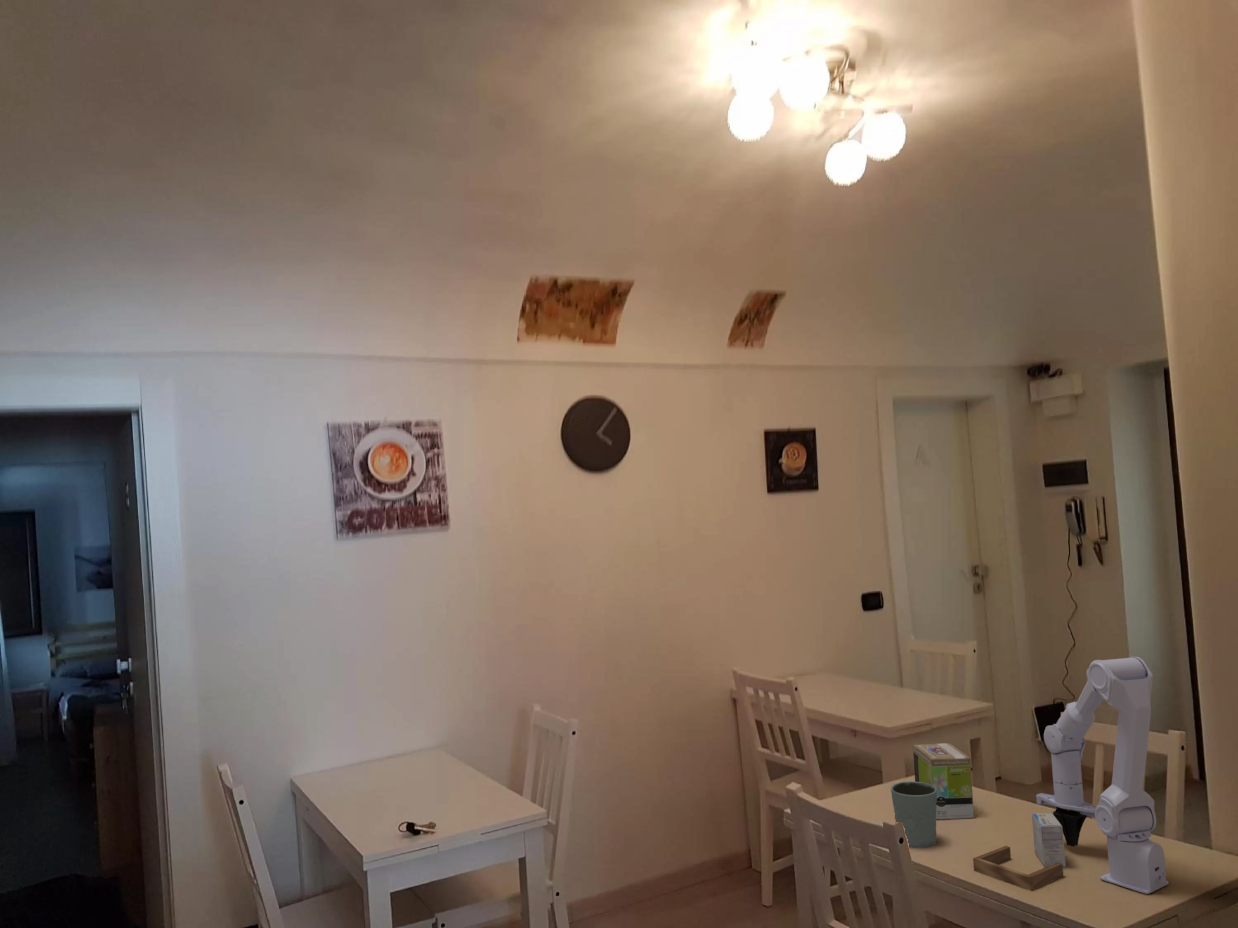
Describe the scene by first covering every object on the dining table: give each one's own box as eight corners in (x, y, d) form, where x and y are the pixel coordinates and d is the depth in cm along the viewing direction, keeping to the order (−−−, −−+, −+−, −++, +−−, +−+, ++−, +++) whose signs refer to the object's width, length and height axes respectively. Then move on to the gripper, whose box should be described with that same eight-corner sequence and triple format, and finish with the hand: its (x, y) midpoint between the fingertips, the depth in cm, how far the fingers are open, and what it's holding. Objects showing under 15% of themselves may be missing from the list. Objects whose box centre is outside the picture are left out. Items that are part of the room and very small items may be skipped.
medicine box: (1066, 867, 191) (1063, 825, 192) (1043, 867, 192) (1040, 824, 192) (1056, 853, 199) (1053, 812, 199) (1034, 853, 200) (1031, 812, 200)
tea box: (975, 818, 223) (971, 756, 224) (934, 820, 223) (929, 758, 224) (954, 799, 238) (950, 741, 239) (915, 801, 238) (911, 743, 239)
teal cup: (924, 830, 216) (920, 778, 217) (950, 845, 207) (946, 790, 207) (885, 836, 214) (882, 784, 214) (910, 851, 204) (906, 796, 205)
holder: (1063, 875, 187) (1062, 863, 187) (1030, 890, 181) (1029, 877, 181) (1006, 857, 198) (1005, 845, 198) (973, 870, 192) (973, 858, 192)
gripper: (1110, 784, 197) (1115, 849, 196) (1047, 770, 209) (1052, 831, 208) (1091, 791, 193) (1096, 857, 192) (1028, 776, 205) (1033, 838, 204)
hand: (1072, 844), depth 200 cm, fingers closed
